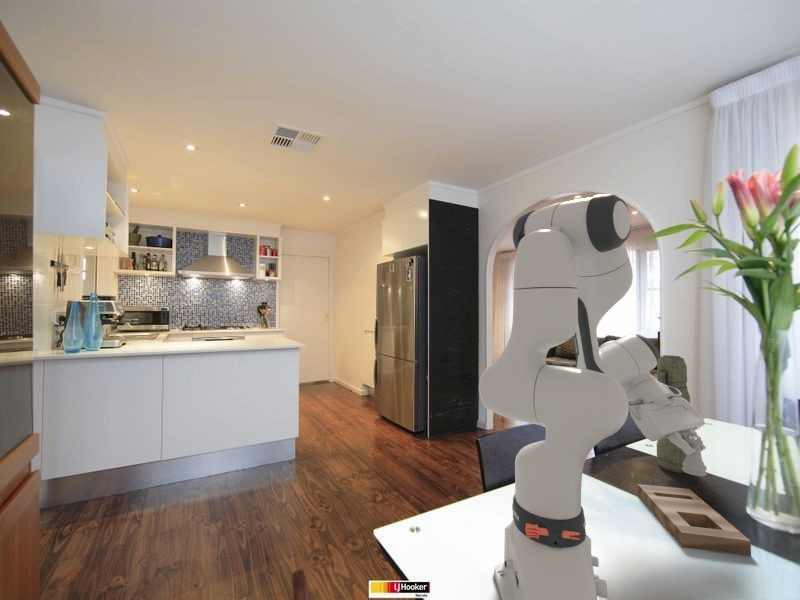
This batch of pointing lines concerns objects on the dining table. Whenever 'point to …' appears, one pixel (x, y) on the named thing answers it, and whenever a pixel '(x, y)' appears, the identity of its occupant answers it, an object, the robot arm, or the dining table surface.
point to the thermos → (675, 375)
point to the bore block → (693, 520)
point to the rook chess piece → (694, 458)
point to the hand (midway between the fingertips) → (697, 452)
